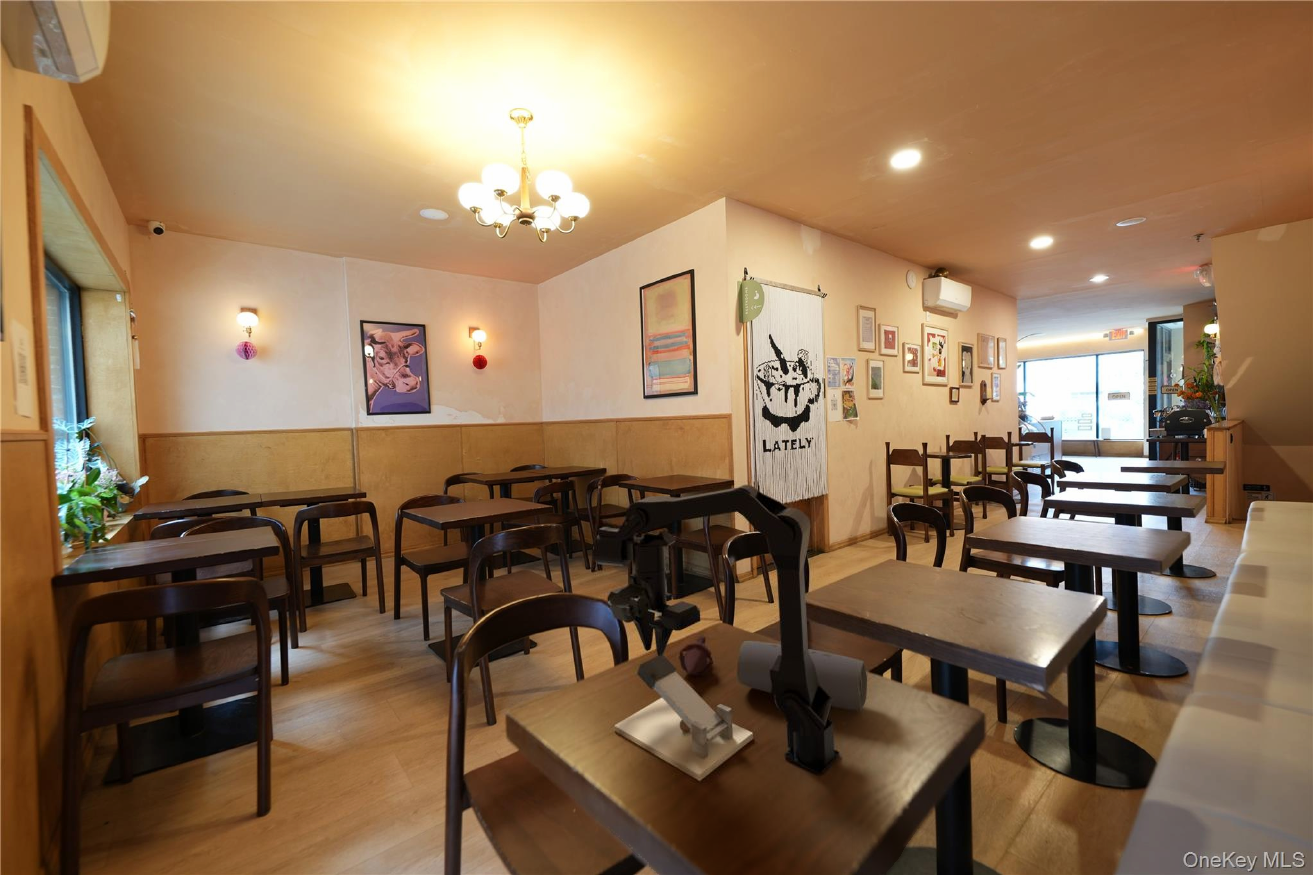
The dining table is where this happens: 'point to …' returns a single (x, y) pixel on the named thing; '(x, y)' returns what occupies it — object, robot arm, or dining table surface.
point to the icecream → (696, 658)
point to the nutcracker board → (683, 738)
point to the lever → (680, 696)
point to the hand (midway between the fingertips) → (654, 652)
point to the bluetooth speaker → (832, 670)
